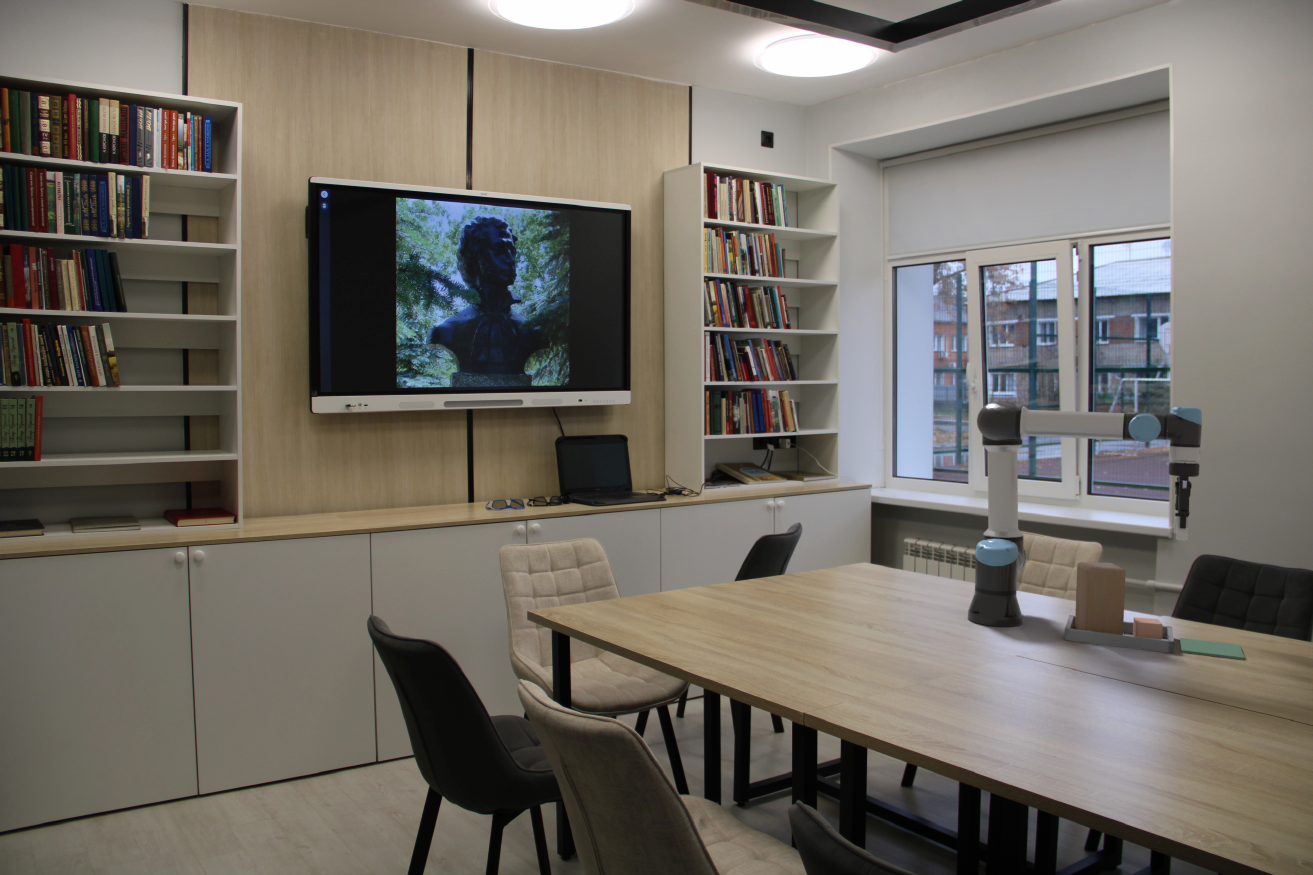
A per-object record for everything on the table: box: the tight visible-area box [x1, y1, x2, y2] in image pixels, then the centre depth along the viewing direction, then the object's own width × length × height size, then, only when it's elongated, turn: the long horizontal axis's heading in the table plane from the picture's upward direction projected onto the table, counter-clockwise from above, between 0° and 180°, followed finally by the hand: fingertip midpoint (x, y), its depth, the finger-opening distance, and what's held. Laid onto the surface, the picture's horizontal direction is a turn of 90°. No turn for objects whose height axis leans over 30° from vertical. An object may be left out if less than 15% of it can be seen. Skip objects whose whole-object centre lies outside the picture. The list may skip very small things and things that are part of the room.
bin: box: [1063, 614, 1175, 654], centre depth 259 cm, size 26×18×3 cm
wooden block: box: [1074, 561, 1126, 635], centre depth 261 cm, size 10×10×20 cm
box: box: [1132, 616, 1164, 640], centre depth 255 cm, size 6×6×6 cm
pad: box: [1179, 637, 1245, 661], centre depth 249 cm, size 14×14×1 cm
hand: (1180, 536), depth 265 cm, fingers open, 13 cm apart
